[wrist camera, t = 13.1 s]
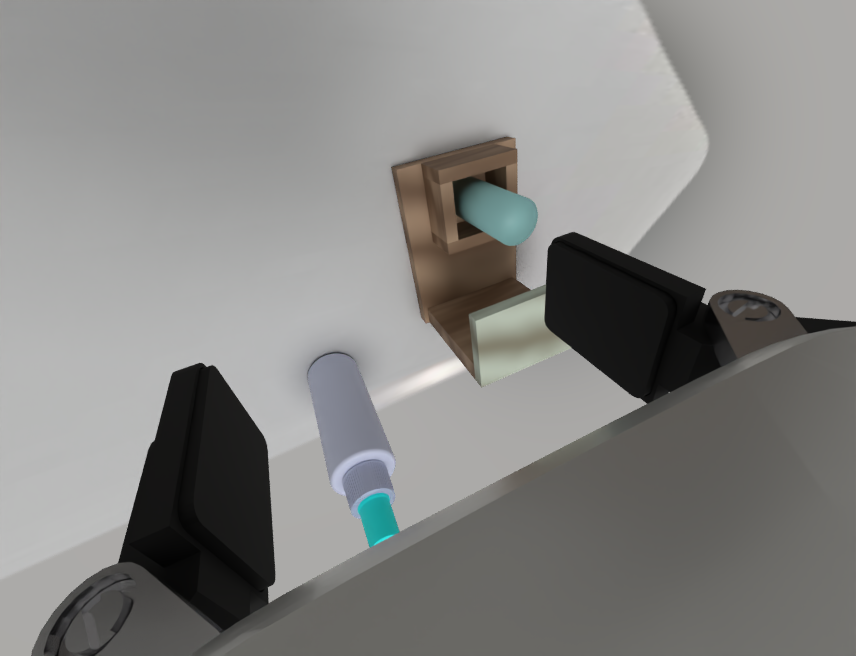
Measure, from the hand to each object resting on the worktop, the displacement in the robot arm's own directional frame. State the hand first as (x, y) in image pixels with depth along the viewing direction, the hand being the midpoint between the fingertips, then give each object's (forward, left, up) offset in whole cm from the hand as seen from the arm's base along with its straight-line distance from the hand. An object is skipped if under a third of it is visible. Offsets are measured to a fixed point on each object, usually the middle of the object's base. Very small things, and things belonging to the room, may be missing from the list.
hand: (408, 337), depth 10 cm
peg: (+6, +15, -27) cm, 31 cm away
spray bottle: (+23, -4, -28) cm, 37 cm away
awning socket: (+11, +15, -28) cm, 34 cm away
